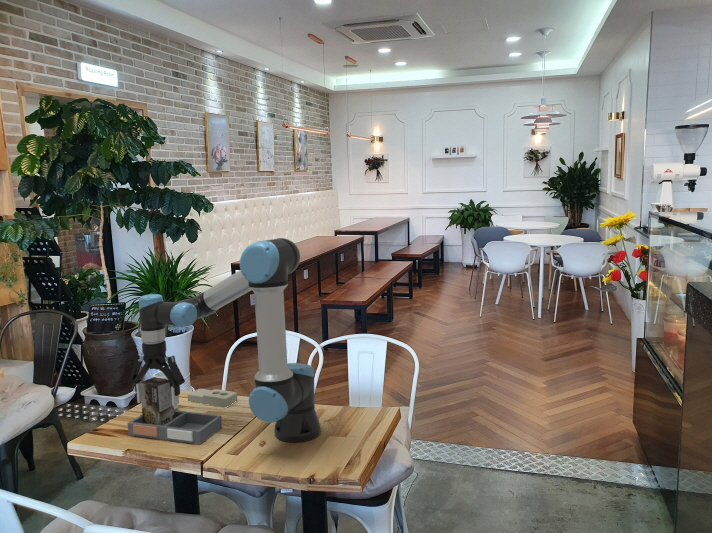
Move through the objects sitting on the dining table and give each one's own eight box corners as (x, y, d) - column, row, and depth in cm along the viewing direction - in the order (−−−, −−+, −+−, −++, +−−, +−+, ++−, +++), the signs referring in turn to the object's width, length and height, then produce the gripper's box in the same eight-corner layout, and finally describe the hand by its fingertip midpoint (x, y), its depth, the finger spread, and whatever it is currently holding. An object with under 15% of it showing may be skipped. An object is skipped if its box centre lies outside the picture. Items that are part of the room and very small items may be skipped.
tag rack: (222, 427, 191) (221, 415, 190) (199, 445, 177) (198, 432, 177) (154, 419, 198) (153, 408, 198) (127, 436, 185) (126, 423, 185)
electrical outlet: (199, 386, 222) (237, 392, 215) (200, 396, 222) (238, 402, 215) (187, 392, 215) (226, 398, 208) (188, 402, 216) (226, 408, 209)
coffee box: (176, 426, 190) (173, 380, 188) (160, 433, 185) (157, 386, 183) (157, 421, 195) (155, 376, 193) (142, 427, 190) (139, 381, 187)
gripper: (193, 340, 186) (197, 401, 189) (129, 336, 193) (134, 396, 196) (179, 346, 179) (184, 410, 182) (114, 342, 186) (119, 404, 189)
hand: (158, 403), depth 189 cm, fingers open, 13 cm apart
